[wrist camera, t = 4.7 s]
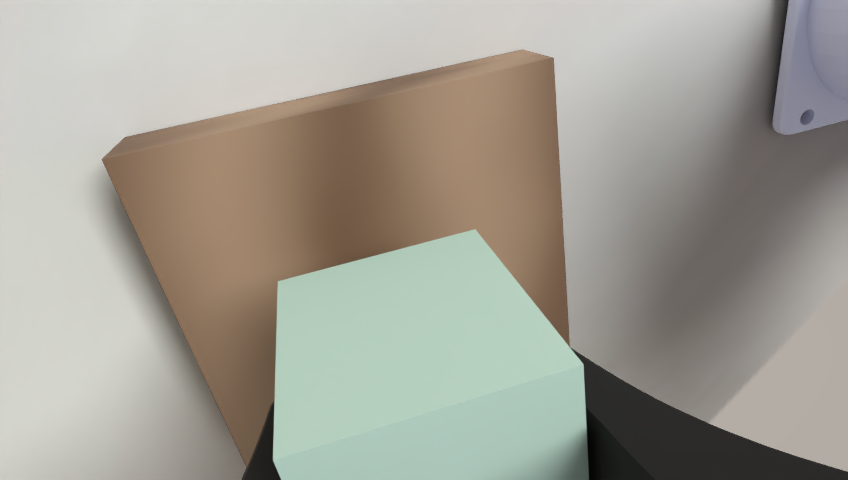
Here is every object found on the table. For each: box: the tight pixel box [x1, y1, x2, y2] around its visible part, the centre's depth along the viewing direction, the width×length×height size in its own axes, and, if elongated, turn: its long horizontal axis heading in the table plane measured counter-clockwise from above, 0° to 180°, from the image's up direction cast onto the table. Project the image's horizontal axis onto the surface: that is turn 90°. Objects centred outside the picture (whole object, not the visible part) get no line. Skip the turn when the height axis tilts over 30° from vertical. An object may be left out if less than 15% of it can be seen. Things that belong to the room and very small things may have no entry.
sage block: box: [273, 229, 589, 480], centre depth 11 cm, size 4×4×5 cm
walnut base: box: [102, 50, 570, 467], centre depth 16 cm, size 11×11×2 cm
